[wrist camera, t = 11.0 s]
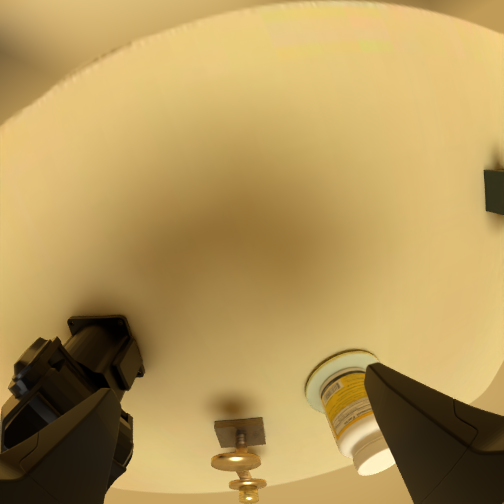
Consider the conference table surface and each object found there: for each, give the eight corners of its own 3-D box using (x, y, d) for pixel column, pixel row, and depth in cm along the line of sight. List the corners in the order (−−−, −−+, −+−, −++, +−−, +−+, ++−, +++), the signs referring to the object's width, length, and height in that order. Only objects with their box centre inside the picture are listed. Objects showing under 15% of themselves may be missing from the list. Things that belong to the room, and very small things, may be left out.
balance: (227, 459, 27) (228, 509, 19) (206, 393, 24) (199, 458, 16) (267, 455, 27) (274, 506, 20) (258, 389, 24) (265, 454, 16)
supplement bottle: (368, 396, 24) (405, 464, 15) (319, 411, 24) (344, 487, 14) (371, 358, 23) (421, 430, 13) (317, 373, 23) (350, 458, 13)
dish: (304, 413, 25) (306, 420, 24) (304, 358, 23) (307, 364, 22) (373, 397, 25) (376, 402, 25) (383, 340, 23) (388, 346, 22)
